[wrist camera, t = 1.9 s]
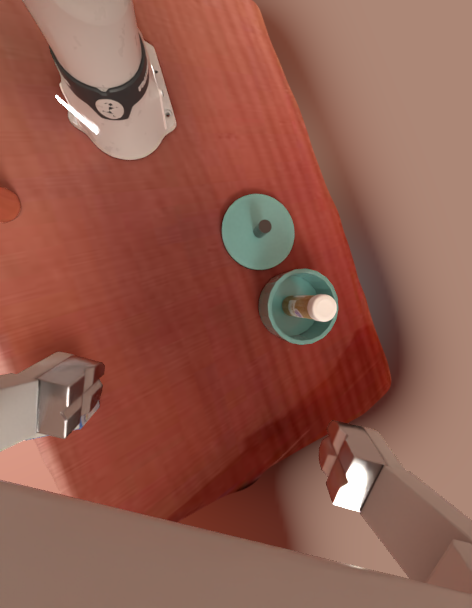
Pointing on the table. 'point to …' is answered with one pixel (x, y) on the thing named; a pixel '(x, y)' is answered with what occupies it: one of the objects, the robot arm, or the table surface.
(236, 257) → the pan lid
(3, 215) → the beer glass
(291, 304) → the sprinkles bottle
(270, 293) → the pan
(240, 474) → the table surface
